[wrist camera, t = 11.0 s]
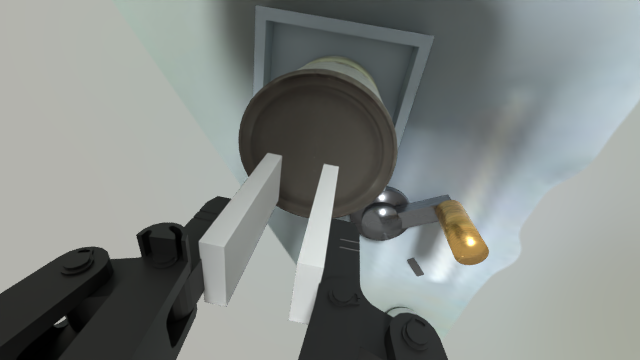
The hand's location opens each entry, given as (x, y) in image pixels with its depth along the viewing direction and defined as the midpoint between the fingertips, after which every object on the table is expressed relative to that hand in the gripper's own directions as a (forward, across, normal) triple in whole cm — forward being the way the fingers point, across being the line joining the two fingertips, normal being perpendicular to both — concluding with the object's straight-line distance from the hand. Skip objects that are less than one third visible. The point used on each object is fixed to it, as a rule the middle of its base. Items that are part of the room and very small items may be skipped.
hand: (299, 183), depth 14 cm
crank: (+17, +12, -11) cm, 24 cm away
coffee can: (+18, 0, 0) cm, 18 cm away
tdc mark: (+18, +17, -22) cm, 33 cm away
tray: (+18, 0, 0) cm, 18 cm away
